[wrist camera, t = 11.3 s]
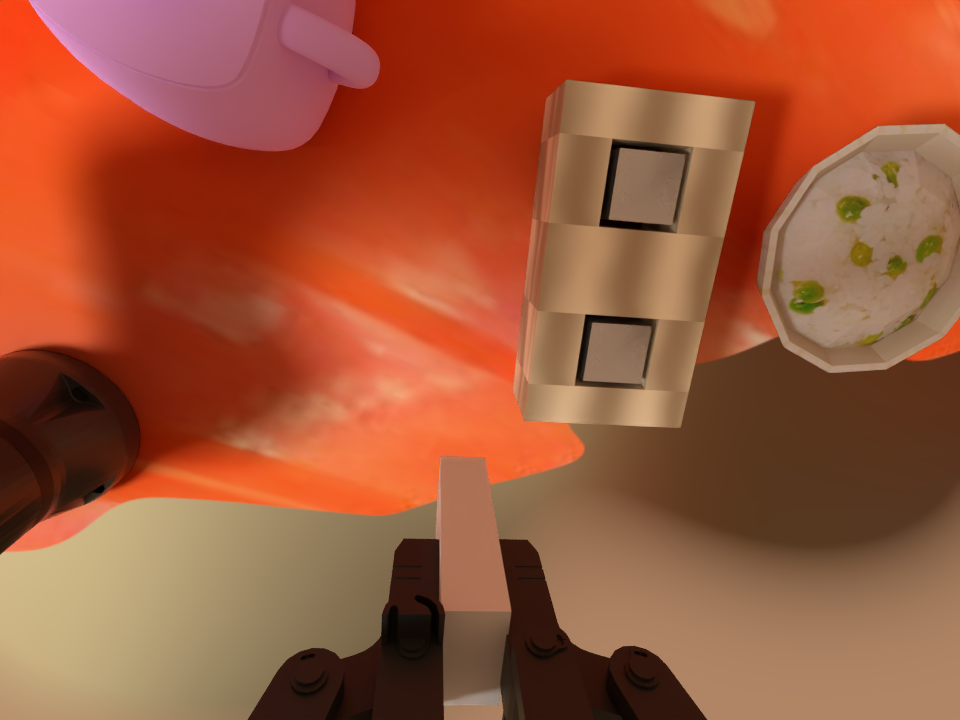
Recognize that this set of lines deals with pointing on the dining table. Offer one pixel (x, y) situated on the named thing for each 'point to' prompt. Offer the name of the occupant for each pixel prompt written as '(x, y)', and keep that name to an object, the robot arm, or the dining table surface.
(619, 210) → the near peg
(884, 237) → the bowl
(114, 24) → the teapot
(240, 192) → the dining table surface
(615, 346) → the far peg
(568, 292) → the socket block
